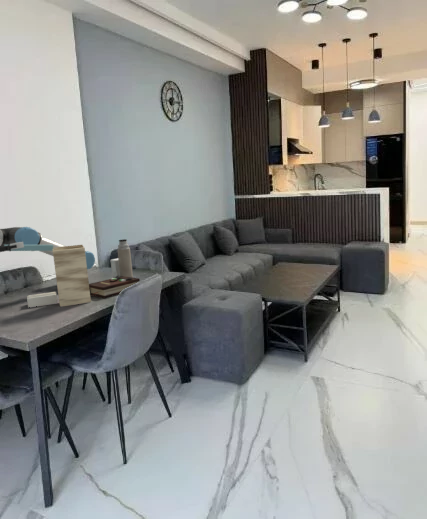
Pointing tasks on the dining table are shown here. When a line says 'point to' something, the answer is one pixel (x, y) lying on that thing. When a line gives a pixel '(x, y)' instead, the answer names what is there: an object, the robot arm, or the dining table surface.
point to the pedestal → (71, 275)
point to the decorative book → (111, 286)
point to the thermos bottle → (124, 259)
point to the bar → (34, 248)
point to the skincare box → (115, 267)
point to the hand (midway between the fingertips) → (23, 244)
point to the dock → (42, 299)
